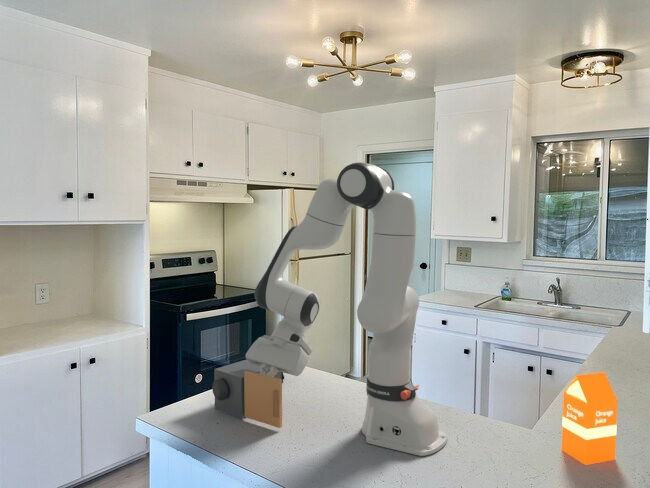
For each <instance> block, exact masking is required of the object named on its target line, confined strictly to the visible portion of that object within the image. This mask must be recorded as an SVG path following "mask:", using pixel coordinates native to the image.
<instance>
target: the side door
mask: <svg viewBox="0 0 650 488" xmlns="http://www.w3.org/2000/svg"><path fill="white" fill-rule="evenodd" d="M244 416H245V417H246V418H245V419H250V420H252V421H256V422H259V423H263V424H265V425H269V426H270V427H271V426H272V427H275V428H278V429H280V428H283V383H282V379H279V378H275V377H271V376H266V375H262V374H258V373H254V372H250V371H247V370H244Z"/></svg>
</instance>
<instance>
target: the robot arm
mask: <svg viewBox="0 0 650 488" xmlns="http://www.w3.org/2000/svg"><path fill="white" fill-rule="evenodd" d="M354 207H359V208H362V209H364V210H370V211H371V212H372V215H373V227H372V228H373V229H372V230H373V231H372V232H373V233H372V242H371V243H372V245H371V259H370V266H369V270H368V274H367V278H366V279H367V280H366V281H365V288H364V290H363V295H362V298H361V300H360V302H359V303H358V306H357V310H356V315H357V320H358V323H359V324H360V326H361V327H362V328H363V329H364V330H366V331H367V332H369V333H372V334H373V336H372V339H371V342H370V344H369V347H368V352H367V353H368V358H367V360H368V364H367V365H368V369H367V370H368V371H367V373H368V375H367V378H366V388H365V389H366V395H367V400H366V401H367V402H366V407H365V409H366V410H365V414H364V420H363V423H362V426H361V433H362V434H363V435H364V436H365V441H366V443H367V444H370V445H373V446H377V447H381V448H387V449H389V450H390V449H391V450H394V451H398V452H403V453H407V454H411V455H415V456H420V457H424V456H429V455H432V454H435V453H437V452H439V451H440V450H441V449H442V448H443V447H445V446H446V444H447V443H448V434H447V433H446V432H444V431H442V430H440V428H439V422H438V418H437V416H436V413H435V412H434V411H433V410H432V409H430V407H428V406H427V404H425V403H424V402H423V401H422V399H420V397H419V396H417V392H416V391H418V390H419V389H420V384H416V385H414V384H413V381H412V379H411V357H412V356H411V354H412V353H411V352H412V344H413V338H414V332H415V328H416V327H415V326H416V319H417V313H418V310H419V307H420V297H419V295H418V293H417V291H416V290H415V289H414V288H413V287H411V286H409V285H408V284H409V281H410V277H411V273H412V270H413V269H414V265H415V251H416V239H417V238H416V236H417V220H416V219H417V216H416V213H417V212H416V207H415V201H414V199H413V197H412V196H411V195H410V194H409V193H407V192H404V191H400V190H395V181H394V178H393V176H392V175H391V173H389V172H388V171H387V170H386V169H384V168H382V167H378V166H377V165H375V164H373V163H364V162H354V163H353V162H352V163H350V164H348V165H346V166H345V167H343V169H342V170H341V171H340V173H339V174H338V177H337V178H328V179H324V180H322V181H321V182H320V183H319V184H318V187H317V188H316V189H315V191H314V194H313V196H312V198H311V200H310V202H309V204H308V208H307V211H306V213H305V216H304V218H303V219H302V221H301V222H300V223H299V224H298V225H295V226H292V227H291V228H290V229H288V231H287V232H286V234H284V236H283V239H282V240H281V243H280V244H279V245H278V247H277V249H276V252H275V253H274V255H273V257H272V259H271V261H270V263H269V265H268V267H267V269H266V270H265V273H264V274H263V276H261V278H260V280H259V281H258V283H257V285H256V287H255V289H254V293H253V294H254V295H253V296H254V299H255V301H256V304H257V306H258V307H259V308H262V309H263V310H266V311H270V312H274V314H275V313H276V314H278V315H280V316H282V319H281V320H280V321H279V322H278V323H277V325H276V327H275V328H274V330H273V332H272V333H271V335H266V334H264V335H262V336H260V337H258V338H257V339H256V340H255V341H254V342H253V343H252V345H251V346H250V347H249V349H248V350H247V352H246V353H245V360H246V359H247V360H248V361H249V362H250V363H252V364H255V365H259V366H260V374H262V375H265V373H266V371H268V370H269V369H270V371H269V372H268V373H267V374H266V376H271V377H273V376H275V375H276V374H277V373H278V371H280V372H283V374H287V375H291V376H295V377H298V376H300V375H302V373H303V372H304V370H305V369H306V366H307V364H308V361H309V356H310V355H311V354H312V353H313V348H312V347H311V346H310V344H309V343H308V342H307V341H306V340H305V337H306V333H307V331H308V330H309V329H310V328H311V326H312V325H313V323H314V321H315V319H316V318H317V317H318V313H319V311H320V306H321V299H320V296H319V295H317V294H316V293H315V292H314V291H312V290H309V289H307V288H304V287H302V286H299V285H296V284H295V283H292V282H291V281H287V280H286V279H284V277H283V274H284V272H285V270H286V269H287V266H288V264H289V263H290V261H291V259H292V257H293V256H294V254H295V253H296V252H297V251H301V250H303V251H304V250H306V251H307V250H309V251H310V250H312V251H314V250H316V251H317V250H318V251H319V250H325V249H328V248H331V247H333V246H334V245H335V244H336V243H337V242H338V241H339V240H340V238H341V236H342V233H343V231H344V228H345V225H346V222H347V219H348V216H349V213H350V212H351V210H352V209H353V208H354Z"/></svg>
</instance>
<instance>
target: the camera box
mask: <svg viewBox="0 0 650 488" xmlns="http://www.w3.org/2000/svg"><path fill="white" fill-rule="evenodd" d="M213 370H214V373H213V375H214V377H213V379H214V380H213V383H212V387H211V389H212V394H213V396H214V409H215V410H217V409H218V410H217V411H219V410H220V411H219V412H222V411H223V412H222V413H224V412H226V413H225V414H227V413H228V414H227V415H229V414H230V416H232V415H233V417H234V416H235V418H237V417H238V418H237V419H239V418H240V420H243V418H244V419H247V418H246V417H245V416H244V370H247V371H250V372H254V373H258V374H260V366H259V365H255V364H252V363H250V362H249V361H248V360H247V359H246V358H245V359H244V360H240V361H237V362H234V363H230V364H226V365H224V366H221V367H217V368H213ZM269 371H270V369H269V370H268V371H266V373H265V375H266V374H267V373H268V372H269ZM273 377H275V378H279V379H281V372H280V371H278V373H277V374H276V375H275V376H273Z"/></svg>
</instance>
